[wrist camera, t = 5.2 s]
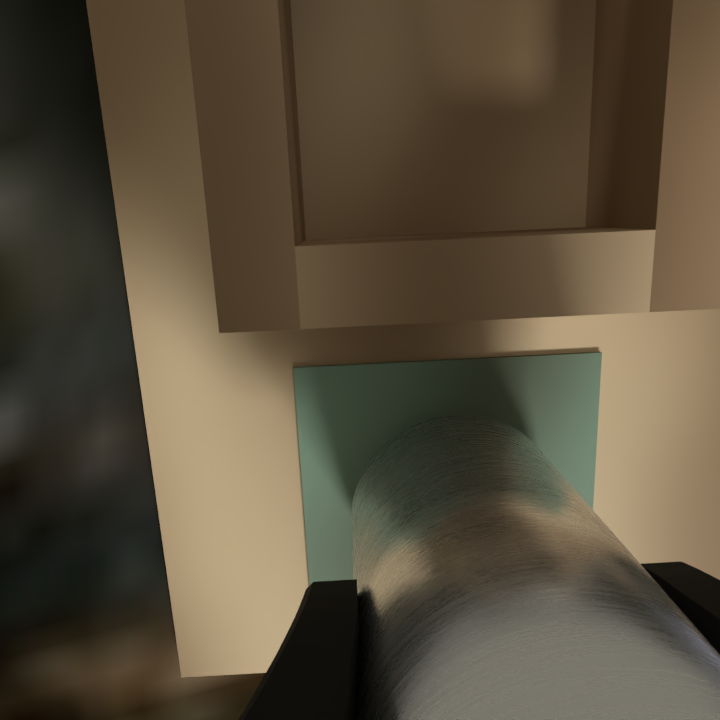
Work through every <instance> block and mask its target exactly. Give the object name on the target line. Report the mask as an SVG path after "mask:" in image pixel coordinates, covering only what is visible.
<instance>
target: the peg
mask: <svg viewBox="0 0 720 720" xmlns="http://www.w3.org/2000/svg"><path fill="white" fill-rule="evenodd" d="M352 557H353V579H357V592H358V619H359V667H358V692H357V720H720V654H719V653H718V652H717V650H716V649H715V648H714V647H713V646H712V645H711V644H710V642H709V641H708V640H707V639H706V638H705V637H704V636H703V634H702V633H701V632H700V631H699V630H698V629H697V628H696V626H695V625H694V624H693V623H692V622H691V621H690V620H689V619H688V617H687V616H686V615H685V614H684V613H683V612H682V611H681V609H680V608H679V607H678V606H677V605H676V604H675V603H674V601H673V600H672V599H671V598H670V597H669V596H668V595H667V593H666V592H665V591H664V590H663V589H662V588H661V587H660V586H659V584H658V583H657V582H656V581H655V580H654V579H653V578H652V576H651V575H650V574H649V573H648V572H647V571H646V570H645V568H644V567H643V566H642V565H641V564H640V563H639V562H638V561H637V559H636V558H635V557H634V556H633V555H632V554H631V553H630V551H629V550H628V549H627V548H626V547H625V546H624V545H623V543H622V542H621V541H620V540H619V539H618V538H617V537H616V535H615V534H614V533H613V532H612V531H611V530H610V529H609V528H608V526H607V525H606V524H605V523H604V522H603V521H602V520H601V518H600V517H599V516H598V515H597V514H596V513H595V512H594V510H593V509H592V508H591V507H590V506H589V505H588V504H587V502H586V501H585V500H584V499H583V498H582V497H581V496H580V495H579V493H578V492H577V491H576V490H575V489H574V488H573V487H572V485H571V484H570V483H569V482H568V481H567V480H566V479H565V477H564V476H563V475H562V474H561V473H560V472H559V471H558V469H557V468H556V467H555V466H554V465H553V464H552V463H551V462H550V460H549V459H548V458H547V457H546V456H545V455H544V454H543V452H542V451H541V450H540V449H539V448H538V447H537V446H536V445H535V444H534V443H533V442H532V441H531V440H530V439H529V438H528V437H526V436H525V435H524V434H523V433H521V432H520V431H518V430H516V429H515V428H513V427H511V426H510V425H507V424H505V423H502V422H500V421H498V420H495V419H491V418H487V417H484V416H477V415H468V414H454V415H445V416H439V417H435V418H431V419H427V420H424V421H421V422H419V423H416V424H414V425H412V426H410V427H408V428H406V429H404V430H402V431H401V432H399V433H398V434H396V435H395V436H393V437H392V438H391V439H389V440H388V441H387V442H386V443H385V444H384V445H383V446H382V447H380V448H379V450H378V451H377V452H376V453H375V454H374V455H373V457H372V458H371V459H370V461H369V462H368V464H367V465H366V467H365V468H364V470H363V472H362V474H361V476H360V478H359V480H358V483H357V486H356V489H355V493H354V497H353V503H352Z"/></svg>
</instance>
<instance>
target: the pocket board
mask: <svg viewBox="0 0 720 720" xmlns="http://www.w3.org/2000/svg"><path fill="white" fill-rule="evenodd" d="M86 4H87V12H88V19H89V26H90V33H91V40H92V47H93V54H94V61H95V68H96V75H97V82H98V89H99V96H100V104H101V111H102V118H103V125H104V132H105V139H106V146H107V153H108V160H109V167H110V174H111V181H112V189H113V196H114V203H115V210H116V217H117V224H118V231H119V238H120V245H121V252H122V259H123V266H124V273H125V281H126V288H127V295H128V302H129V309H130V316H131V323H132V330H133V337H134V344H135V351H136V358H137V365H138V373H139V380H140V387H141V394H142V401H143V408H144V415H145V422H146V429H147V436H148V443H149V450H150V458H151V465H152V472H153V479H154V486H155V493H156V500H157V507H158V514H159V521H160V528H161V535H162V542H163V550H164V557H165V564H166V571H167V578H168V585H169V592H170V599H171V606H172V613H173V620H174V627H175V635H176V642H177V649H178V656H179V663H180V670H181V677H198V676H215V675H232V674H250V673H266V672H267V670H268V668H269V667H270V665H271V663H272V661H273V659H274V658H275V656H276V654H277V652H278V650H279V648H280V646H281V644H282V642H283V640H284V638H285V636H286V634H287V632H288V630H289V628H290V626H291V624H292V622H293V620H294V618H295V615H296V613H297V611H298V609H299V606H300V604H301V601H302V599H303V596H304V593H305V590H306V589H307V588H308V587H309V586H310V585H311V584H312V583H313V582H317V581H335V580H353V557H352V503H353V497H354V493H355V489H356V486H357V483H358V480H359V478H360V476H361V474H362V472H363V470H364V468H365V467H366V465H367V464H368V462H369V461H370V459H371V458H372V457H373V455H374V454H375V453H376V452H377V451H378V450H379V448H380V447H382V446H383V445H384V444H385V443H386V442H387V441H388V440H389V439H391V438H392V437H393V436H395V435H396V434H398V433H399V432H401V431H402V430H404V429H406V428H408V427H410V426H412V425H414V424H416V423H419V422H421V421H424V420H427V419H431V418H435V417H439V416H445V415H454V414H468V415H477V416H484V417H487V418H491V419H495V420H498V421H500V422H502V423H505V424H507V425H510V426H511V427H513V428H515V429H516V430H518V431H520V432H521V433H523V434H524V435H525V436H526V437H528V438H529V439H530V440H531V441H532V442H533V443H534V444H535V445H536V446H537V447H538V448H539V449H540V450H541V451H542V452H543V454H544V455H545V456H546V457H547V458H548V459H549V460H550V462H551V463H552V464H553V465H554V466H555V467H556V468H557V469H558V471H559V472H560V473H561V474H562V475H563V476H564V477H565V479H566V480H567V481H568V482H569V483H570V484H571V485H572V487H573V488H574V489H575V490H576V491H577V492H578V493H579V495H580V496H581V497H582V498H583V499H584V500H585V501H586V502H587V504H588V505H589V506H590V507H591V508H592V509H593V510H594V512H595V513H596V514H597V515H598V516H599V517H600V518H601V520H602V521H603V522H604V523H605V524H606V525H607V526H608V528H609V529H610V530H611V531H612V532H613V533H614V534H615V535H616V537H617V538H618V539H619V540H620V541H621V542H622V543H623V545H624V546H625V547H626V548H627V549H628V550H629V551H630V553H631V554H632V555H633V556H634V557H635V558H636V559H637V561H638V562H639V563H640V564H644V563H662V562H680V561H682V562H684V563H686V564H688V565H690V566H693V567H695V568H697V569H699V570H701V571H703V572H705V573H707V574H709V575H711V576H713V577H715V578H717V579H719V580H720V0H86Z"/></svg>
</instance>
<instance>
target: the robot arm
mask: <svg viewBox="0 0 720 720" xmlns="http://www.w3.org/2000/svg"><path fill="white" fill-rule="evenodd" d="M641 565H642V566H643V567H644V568H645V570H646V571H647V572H648V573H649V574H650V575H651V576H652V578H653V579H654V580H655V581H656V582H657V583H658V584H659V586H660V587H661V588H662V589H663V590H664V591H665V592H666V593H667V595H668V596H669V597H670V598H671V599H672V600H673V601H674V603H675V604H676V605H677V606H678V607H679V608H680V609H681V611H682V612H683V613H684V614H685V615H686V616H687V617H688V619H689V620H690V621H691V622H692V623H693V624H694V625H695V626H696V628H697V629H698V630H699V631H700V632H701V633H702V634H703V636H704V637H705V638H706V639H707V640H708V641H709V642H710V644H711V645H712V646H713V647H714V648H715V649H716V650H717V652H718V653H719V654H720V580H719V579H717V578H715V577H713V576H711V575H709V574H707V573H705V572H703V571H701V570H699V569H697V568H695V567H693V566H690V565H688V564H686V563H684V562H682V561H680V562H662V563H644V564H641ZM358 667H359V619H358V592H357V579H353V580H335V581H317V582H313V583H312V584H311V585H310V586H309V587H308V588H307V589H306V590H305V593H304V596H303V599H302V601H301V604H300V606H299V609H298V611H297V613H296V615H295V618H294V620H293V622H292V624H291V626H290V628H289V630H288V632H287V634H286V636H285V638H284V640H283V642H282V644H281V646H280V648H279V650H278V652H277V654H276V656H275V658H274V659H273V661H272V663H271V665H270V667H269V668H268V670H267V672H266V674H265V676H264V677H263V679H262V681H261V683H260V684H259V686H258V688H257V690H256V692H255V693H254V695H253V697H252V699H251V700H250V702H249V704H248V705H247V707H246V709H245V710H244V712H243V714H242V715H241V717H240V718H239V720H357V692H358Z"/></svg>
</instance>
